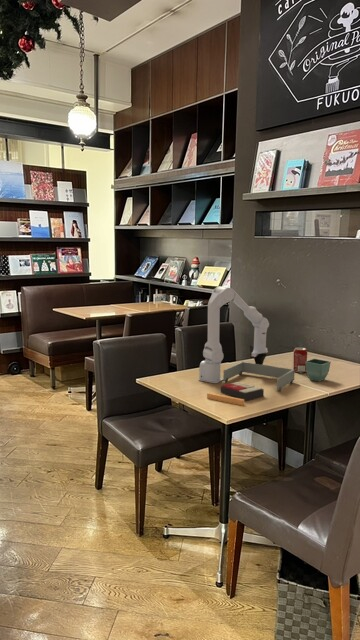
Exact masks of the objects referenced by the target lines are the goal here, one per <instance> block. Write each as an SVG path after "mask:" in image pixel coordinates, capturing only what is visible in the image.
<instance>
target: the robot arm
mask: <svg viewBox="0 0 360 640" xmlns="http://www.w3.org/2000/svg"><path fill="white" fill-rule="evenodd" d="M229 302H232V303H233V304H235V305H236V306H237V307H238V308H239V309H241V310H242V312H243V316H245V318H247V320H248V321H250V322H251V324H252V326H253V327H254V333H253V335H254V336H253V350H252V352H251V357H252V358H253V360H254V363H255V364H261V365H264V362H265V361H264V360H265V359H266V357H267V353H269V350H268V347H267V331H268V328H269V326H270V322H269V320H268V319H267V318H266V317H264V316H263V314H262V313H260V312H259V311H258V310H257V307H256V306H249V305H248V303H247V302H246V301H244V299H243V298H242V297H241V296H240V295H239V294H238V293H237V292H236V290H234V288H232V287H226V286H220V285H219V286H217V287H215V288H214V289H212V291H211V296H210V298H209V299H208V303H207V341H206V342H205V344H204V348H203V351H202V356H203V358H205V359H204V360H202V361H201V362H200V364H199V366H198V367H199V370H198V371H199V373H198V374H199V375H198V381H200V382H205V383H206V382H207V383H211V384H217V383H220V382H222V381H224V380H223V378H222V377H221V365H222V361H223V359H224V355H225V354H224V353H223V352H224V351H223V347H222V344H221V343H220V321H221V320H220V319H221V318H220V317H221V316H220V315H221V313H220V310H221V307H223V306H224V305H225V304H227V303H229Z"/></svg>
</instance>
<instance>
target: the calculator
mask: <svg viewBox="0 0 360 640" xmlns="http://www.w3.org/2000/svg"><path fill="white" fill-rule="evenodd" d="M220 393H222V394H225V396H229V397H234V398H239V399H244V402H249V401H252V400H253V401H254V400H256V399H260V398H264V396H265V395H264V388H262V387H259V386H255V385H254V384H249V383H245V382H241V381H237V382H231V383H227V384H222V385H221V386H220Z"/></svg>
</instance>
